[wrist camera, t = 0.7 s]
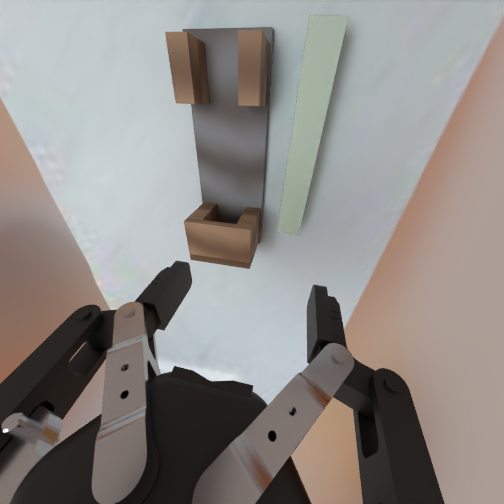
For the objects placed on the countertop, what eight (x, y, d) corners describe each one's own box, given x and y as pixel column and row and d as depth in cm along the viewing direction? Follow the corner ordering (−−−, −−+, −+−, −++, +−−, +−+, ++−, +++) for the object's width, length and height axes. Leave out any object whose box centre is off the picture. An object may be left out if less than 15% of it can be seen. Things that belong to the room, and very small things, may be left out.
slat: (308, 30, 20) (309, 15, 17) (341, 30, 19) (348, 15, 16) (279, 218, 31) (276, 231, 28) (299, 221, 31) (298, 235, 28)
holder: (186, 32, 21) (140, 3, 15) (273, 30, 20) (260, -3, 14) (208, 233, 35) (189, 259, 29) (260, 240, 34) (251, 269, 28)
